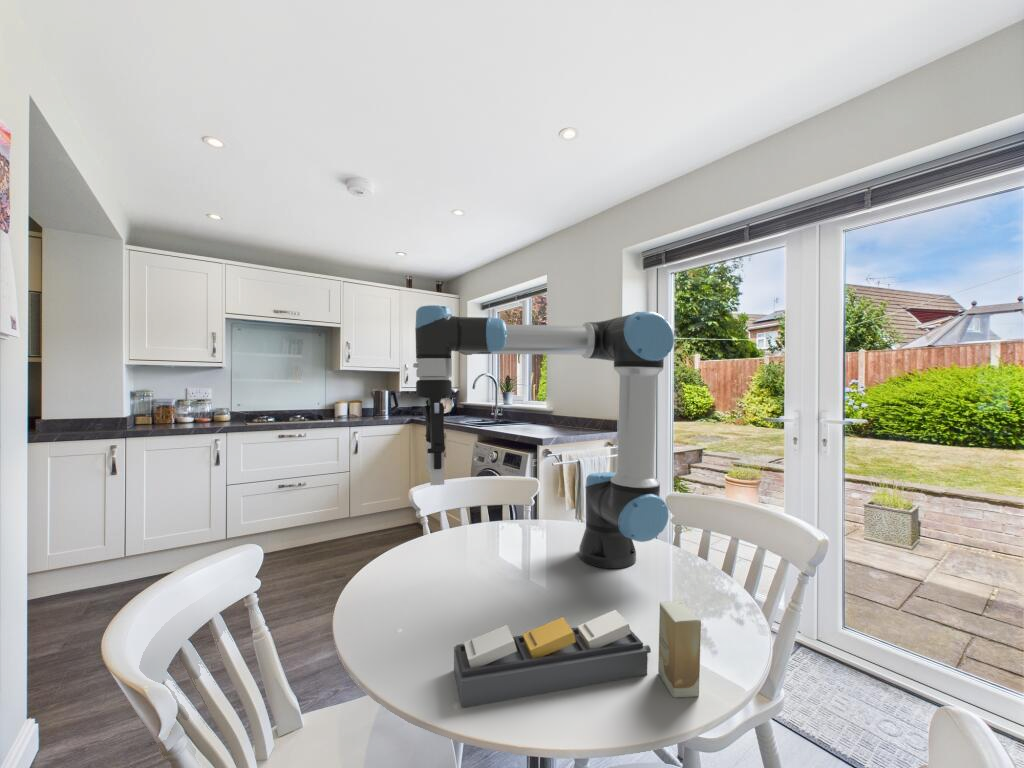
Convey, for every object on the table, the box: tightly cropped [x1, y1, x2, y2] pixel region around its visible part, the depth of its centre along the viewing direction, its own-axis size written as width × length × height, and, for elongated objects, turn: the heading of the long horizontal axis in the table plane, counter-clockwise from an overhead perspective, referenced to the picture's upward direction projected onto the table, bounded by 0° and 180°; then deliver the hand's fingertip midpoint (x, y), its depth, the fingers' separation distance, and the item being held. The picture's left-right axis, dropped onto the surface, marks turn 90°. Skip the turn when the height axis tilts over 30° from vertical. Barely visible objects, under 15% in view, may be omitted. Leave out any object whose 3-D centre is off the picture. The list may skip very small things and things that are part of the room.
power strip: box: [453, 627, 652, 708], centre depth 77 cm, size 34×9×5 cm, turn 104°
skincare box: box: [657, 600, 702, 698], centre depth 74 cm, size 6×4×12 cm
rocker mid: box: [521, 616, 576, 658], centre depth 77 cm, size 8×5×2 cm, turn 104°
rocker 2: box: [576, 609, 632, 649], centre depth 79 cm, size 8×5×2 cm, turn 104°
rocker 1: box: [463, 624, 517, 668], centre depth 74 cm, size 8×5×2 cm, turn 104°
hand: (434, 477), depth 99 cm, fingers open, 13 cm apart
